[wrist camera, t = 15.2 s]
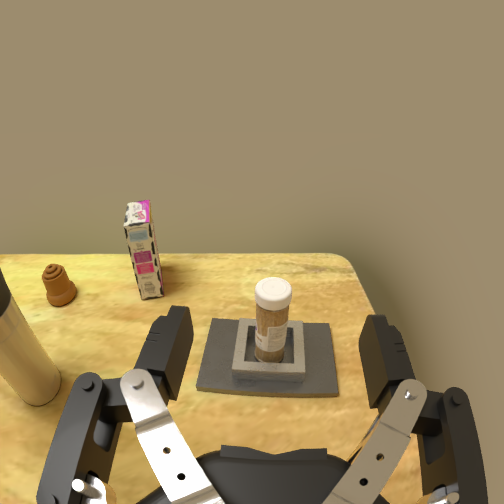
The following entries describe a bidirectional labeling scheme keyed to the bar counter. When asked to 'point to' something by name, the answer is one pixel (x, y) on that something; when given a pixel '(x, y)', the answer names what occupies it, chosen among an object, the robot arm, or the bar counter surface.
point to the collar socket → (268, 374)
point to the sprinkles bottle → (271, 318)
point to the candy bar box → (143, 249)
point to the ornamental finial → (58, 285)
